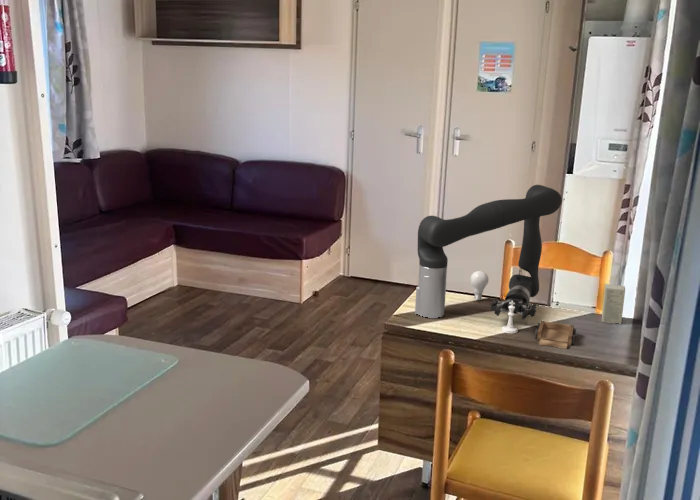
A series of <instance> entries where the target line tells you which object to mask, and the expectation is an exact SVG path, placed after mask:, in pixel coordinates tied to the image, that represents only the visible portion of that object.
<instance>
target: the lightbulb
mask: <svg viewBox="0 0 700 500" xmlns="http://www.w3.org/2000/svg"><path fill="white" fill-rule="evenodd" d="M469 281H470V283H471V286H472V288H473V291H474V297H473V299H474V300H476V301H478V302H479V301H481V300H482V299H483V292H484V290H485V288H486V286H487V285H488V284H489V276H488V274H487V273H486V272H485V271H483V270H476V271H474V272H472V273H471V276H470V279H469Z"/></svg>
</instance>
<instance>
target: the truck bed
mask: <svg viewBox="0 0 700 500" xmlns="http://www.w3.org/2000/svg"><path fill="white" fill-rule="evenodd" d="M536 327H537V328H535V331H534V339H536V341H539V342H538V344H539V346H546V347H551V346H553V347H552V348H557V347H558V349H559V348H560V349H563V350H565V349H566V350H567V348H568V347H571V346H572V345H575V339H576V336H577V335H576V334H577V328H575V325H572V324H567V323H566V324H565V323H559V322H551V321H544V320H540V322H537V325H536Z"/></svg>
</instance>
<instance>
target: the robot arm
mask: <svg viewBox="0 0 700 500" xmlns="http://www.w3.org/2000/svg"><path fill="white" fill-rule="evenodd" d="M562 202H563V199H562V195H561V193H560V192H558V190H556V189H554V188H552V187H548V186H545V185H542V184H534V185H532V186H530V187H529V189H528V190H527V192H526V194H525V198H517V199H516V198H513V199H512V198H511V199H509V198H507V199H498V200H492V201H489V202H485V203H482V204H479V205H477V206H476V207H474V208H472V209H471V211H469V212H468V213H467V214H465V215H463V216H460V217H454V218H450V219H443V218H441V217H439V216H436V215H427V216H425V217H424V218H423V219H422V220H421V221H420V223H419V225H418V229H417V255H418V259H419V261H418V262H419V265H418V281H417V283H418V284H417V286H416V289H415V291H416V292H415V307H414V314H415V315H416V314H418V315H417V316H419V315H420V316H419V317H422V316H423V317H422V318H425V317H428V318H427V319H439V318H438V317H440V318H443V317H444V316H445V310H446V309H445V308H446V306H445V305H446V292H447V275H448V260H449V259H448V257H447V254H446V253H445V251H444V247H446V246H450V245H452V244H454V243H457V242H459V241H461V240H464V239H466V238H468V237H469V238H470V237H472V236H476V235H479V234H483V233H486V232H489V231H493V230H496V229H501V228H503V227H506V226H509V225H513V224H516V223H519V222H522V221H523V236H522V243H521V249H520V253H519V258H518V263H517V264H518V265H517V266H518V267H519V268H520V269H521V270H523V271H525V272H527V273H528V274H529V276H527V275H524V274H520V273H519V274H513V275H512V276H511V277H510V279H509V282H508V289H509V291H508V292H507V294H506V296H505V297H504V300H501V301H500V300H499V299H498V298H496V297H495V298H493V300H492V301H491V304H490V311H491V312H494V315H496V316H499V315H500V314H501V313H509V312H510V311H509V306H511V304H509V302H511V301H513V303H515V304H513V306H515V309H514V311H513V313H514V314H515V315H520V316H521V320H522V321H523V320H524V321H525V319H528V317H530V318H534V317H535V316H536V313H537V305H538V304H536V303H533V304H531V305H529V303H530V301H531V298H535V297H536V296H537V295H538V293H539V291H540V279H539V267H540V266H539V265H540V261H541V256H542V253H543V242H542V235H541V229H540V227H541V226H540V220H541V217H546V216H550V215H552V214H554V213H556V212H557V211H558V210H559V209H560V207H561V205H562ZM443 315H444V316H443Z"/></svg>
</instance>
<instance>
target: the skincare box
mask: <svg viewBox="0 0 700 500" xmlns="http://www.w3.org/2000/svg"><path fill="white" fill-rule="evenodd" d="M625 294H626V287H625V285H619V284H617V285H616V284H610V283H609V284H608V283H605V285H604V295H603V305H602V312H601V314H602V315H601V322H602V323H609V324H615V323H619V324H618V325H622V320H623V311H624V306H625V305H624V303H625V297H626V296H625Z"/></svg>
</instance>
